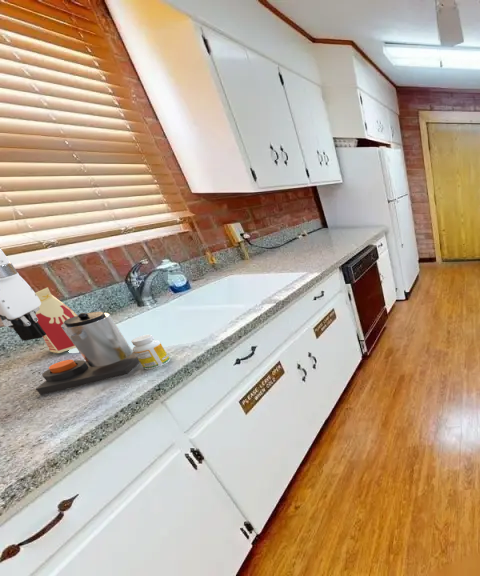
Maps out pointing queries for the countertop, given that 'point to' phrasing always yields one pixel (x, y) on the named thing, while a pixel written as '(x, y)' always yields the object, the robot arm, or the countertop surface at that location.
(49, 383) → the push button panel
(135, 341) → the supplement bottle
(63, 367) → the power button
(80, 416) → the countertop surface
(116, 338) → the kettle
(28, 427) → the countertop surface
